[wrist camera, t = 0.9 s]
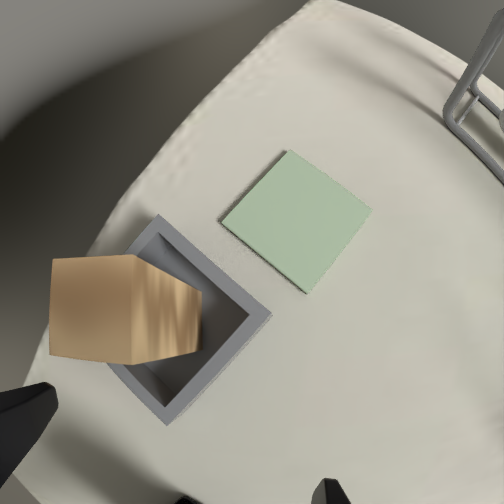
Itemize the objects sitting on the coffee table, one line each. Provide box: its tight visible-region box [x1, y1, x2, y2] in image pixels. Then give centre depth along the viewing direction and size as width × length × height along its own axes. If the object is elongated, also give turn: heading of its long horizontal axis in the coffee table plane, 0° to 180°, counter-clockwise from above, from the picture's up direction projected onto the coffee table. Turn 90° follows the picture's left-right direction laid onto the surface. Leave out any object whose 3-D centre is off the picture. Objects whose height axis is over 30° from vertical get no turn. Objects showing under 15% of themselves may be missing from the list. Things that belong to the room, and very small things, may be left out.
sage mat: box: [221, 150, 373, 294], centre depth 26 cm, size 9×9×1 cm
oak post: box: [49, 254, 203, 365], centre depth 18 cm, size 5×5×12 cm
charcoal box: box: [107, 214, 272, 426], centre depth 23 cm, size 11×11×4 cm
